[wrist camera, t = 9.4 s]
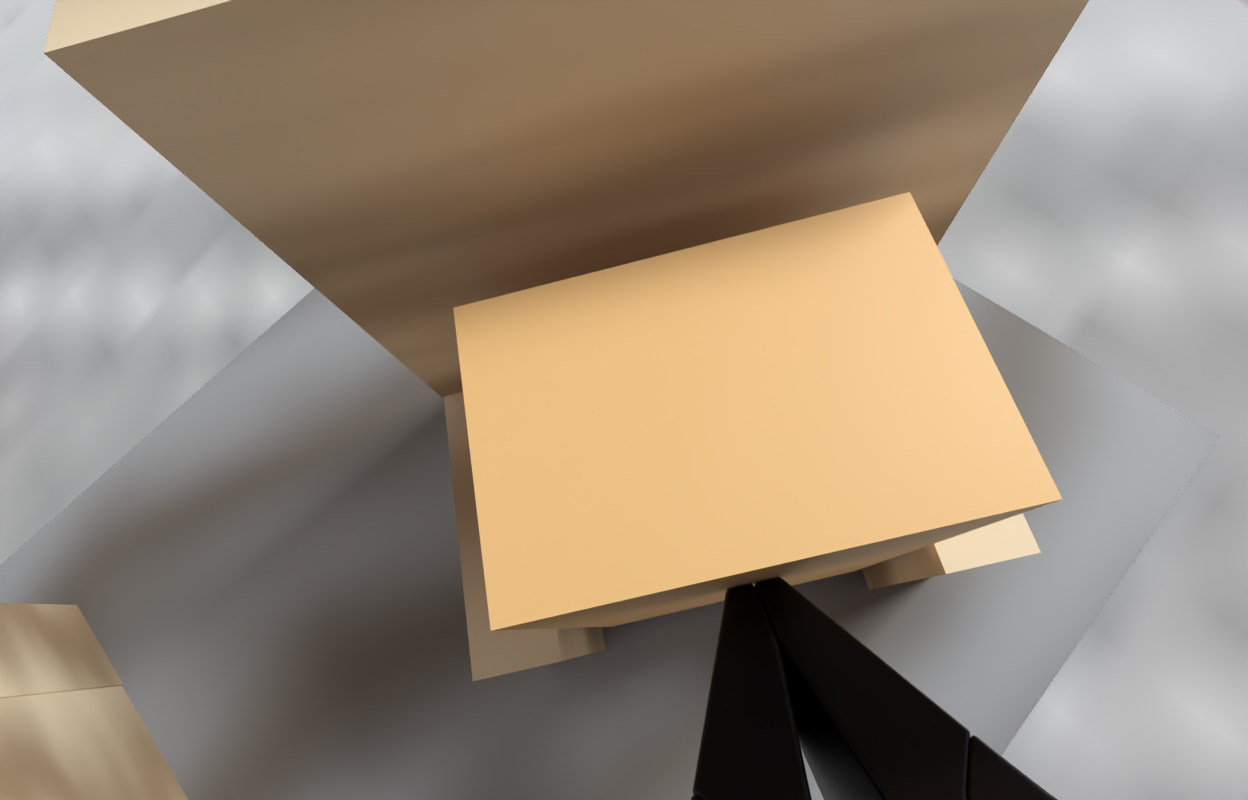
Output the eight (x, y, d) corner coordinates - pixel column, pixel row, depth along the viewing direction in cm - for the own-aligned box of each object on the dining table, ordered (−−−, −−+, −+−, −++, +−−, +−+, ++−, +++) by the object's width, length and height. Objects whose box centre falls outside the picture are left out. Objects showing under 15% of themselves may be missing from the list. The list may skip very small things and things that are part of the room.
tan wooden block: (852, 571, 14) (1062, 499, 6) (612, 626, 15) (490, 631, 6) (800, 420, 16) (909, 192, 7) (583, 472, 16) (453, 307, 8)
